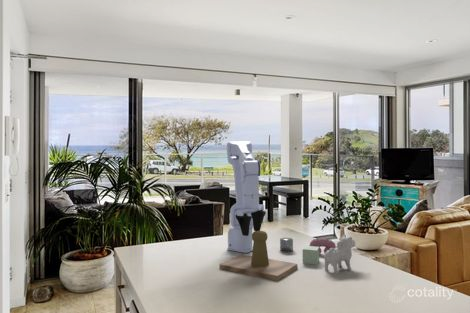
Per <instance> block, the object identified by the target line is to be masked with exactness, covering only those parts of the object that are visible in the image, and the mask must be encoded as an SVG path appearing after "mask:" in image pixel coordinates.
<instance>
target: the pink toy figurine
mask: <svg viewBox="0 0 470 313" xmlns="http://www.w3.org/2000/svg"><path fill="white" fill-rule="evenodd" d="M308 246H315V247H319V255H320V254H322V248H321V247H323V248H324V249H323V253H324V254H325V253H326V251H328V250H329V249H331V248H336V246H337V244H336V242H334V241H333V240H331V239H328V238H316V239H314V238H313V239H312V240H311V241H310V242H309V245H308Z"/></svg>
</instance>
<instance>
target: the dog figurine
mask: <svg viewBox="0 0 470 313" xmlns="http://www.w3.org/2000/svg"><path fill="white" fill-rule="evenodd" d="M355 246H356V242H355V240H354V239H353V237H352V236H348V237H347V234H343V235H342V237H341V238H340V240H338V241H337V242H336V248H331V249H329V250H328V251H326V253H324V254H323V259H324V270H325V271H326V272H327V271H329V266H332V267H333V274H339V271H338V267H340V268H341V267H343V264H342V262H343V261H344V264H345V266H346V267H347V268H346V269H347V270H349V269H351V270H352V267H351V259H352V256H353V253H352V248H355Z"/></svg>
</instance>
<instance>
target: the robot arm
mask: <svg viewBox="0 0 470 313" xmlns="http://www.w3.org/2000/svg"><path fill="white" fill-rule="evenodd" d="M252 152H253V145H252V143H251V141H249V140H248V141H227V143H226V154H227V156H226V158H227V161H228V164H230V165H232V169H233V178H234V179H233V180H234V190H235V201H236V203H234V204H233V205H231V208H230V210H229V212H230V214H229V220H230V221H229V222H230V223H229V224H230V227H229V228H228V231H227V247H226V250H227V251H233V252H238V253H239V252H240V253H244V254H247V253H249V252H252V251H253V239H252V234H253V232H255V231H261V228H262V223H263V220H264V218H265V216H266V214H267V212H266V210H265V205H264V204H260V184H259V182H260V178H259V177H260V176H261V172H262V171H261V170H262V168H261V161H260V160H259V159H258V160H257V159H255V157H254V155H253V153H252Z"/></svg>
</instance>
